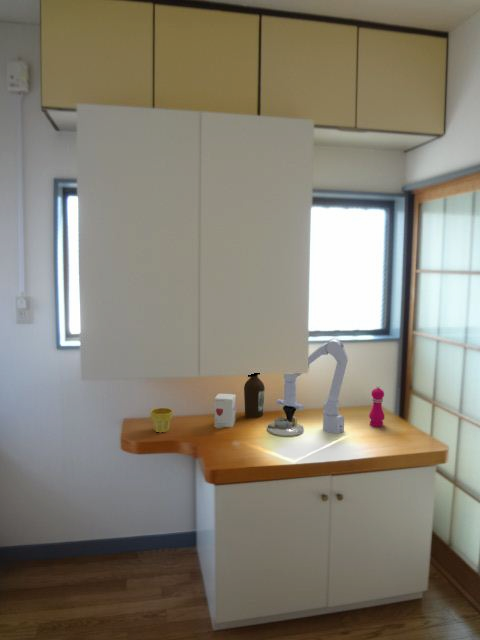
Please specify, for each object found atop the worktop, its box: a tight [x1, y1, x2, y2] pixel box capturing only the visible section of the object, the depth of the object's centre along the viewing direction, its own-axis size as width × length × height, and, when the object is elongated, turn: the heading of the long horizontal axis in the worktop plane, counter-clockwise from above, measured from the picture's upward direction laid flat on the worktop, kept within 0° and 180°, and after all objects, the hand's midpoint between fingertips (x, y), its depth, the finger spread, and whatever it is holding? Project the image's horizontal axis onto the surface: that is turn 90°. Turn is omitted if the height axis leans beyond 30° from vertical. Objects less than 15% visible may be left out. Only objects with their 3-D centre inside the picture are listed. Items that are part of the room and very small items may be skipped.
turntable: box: [267, 416, 305, 438], centre depth 219 cm, size 17×17×4 cm
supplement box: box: [213, 393, 237, 429], centre depth 226 cm, size 9×9×15 cm
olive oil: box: [243, 374, 266, 419], centre depth 239 cm, size 11×11×25 cm
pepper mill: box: [368, 385, 385, 428], centre depth 229 cm, size 7×7×20 cm
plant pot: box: [150, 407, 174, 433], centre depth 219 cm, size 10×10×10 cm
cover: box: [274, 417, 288, 428], centre depth 220 cm, size 6×6×4 cm
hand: (289, 420), depth 225 cm, fingers closed
